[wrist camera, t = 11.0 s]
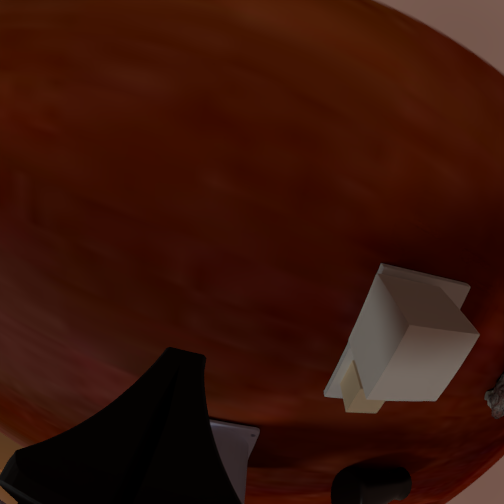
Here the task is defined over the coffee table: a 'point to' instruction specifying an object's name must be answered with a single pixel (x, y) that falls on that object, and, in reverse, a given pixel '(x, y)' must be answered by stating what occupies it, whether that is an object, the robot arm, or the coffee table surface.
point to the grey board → (346, 372)
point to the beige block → (409, 340)
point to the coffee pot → (370, 486)
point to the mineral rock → (496, 399)
